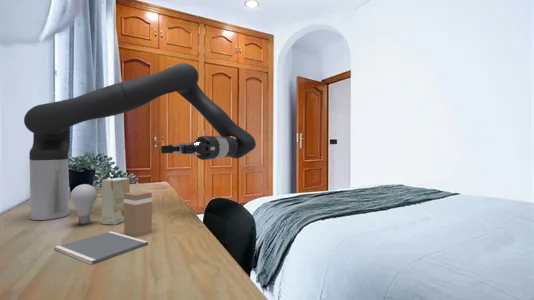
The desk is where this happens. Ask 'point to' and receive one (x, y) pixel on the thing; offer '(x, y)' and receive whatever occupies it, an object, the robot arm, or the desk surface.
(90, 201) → the lightbulb
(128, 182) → the skincare box
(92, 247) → the mat
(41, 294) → the desk surface
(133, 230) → the card box
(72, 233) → the desk surface
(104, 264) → the desk surface
